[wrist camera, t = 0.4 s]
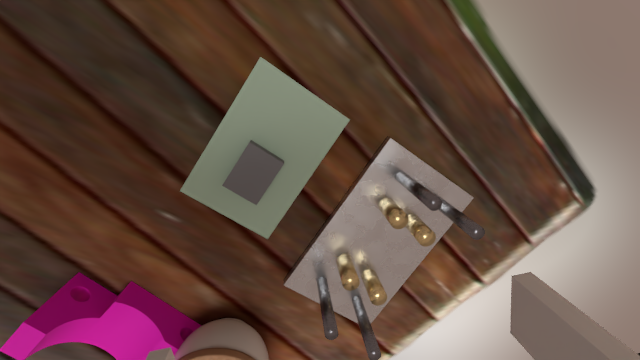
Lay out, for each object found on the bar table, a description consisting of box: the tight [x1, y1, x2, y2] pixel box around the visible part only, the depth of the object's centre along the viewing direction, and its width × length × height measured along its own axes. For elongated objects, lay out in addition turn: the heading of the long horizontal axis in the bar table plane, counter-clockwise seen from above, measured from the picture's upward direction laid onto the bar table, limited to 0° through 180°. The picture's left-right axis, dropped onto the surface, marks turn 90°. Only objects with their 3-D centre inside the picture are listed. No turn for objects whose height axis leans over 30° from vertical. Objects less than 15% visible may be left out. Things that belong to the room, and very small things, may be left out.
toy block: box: [0, 272, 201, 360], centre depth 32 cm, size 15×6×8 cm, turn 46°
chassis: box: [284, 137, 485, 360], centre depth 32 cm, size 12×20×9 cm, turn 146°
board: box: [180, 57, 349, 239], centre depth 25 cm, size 8×12×4 cm, turn 146°
